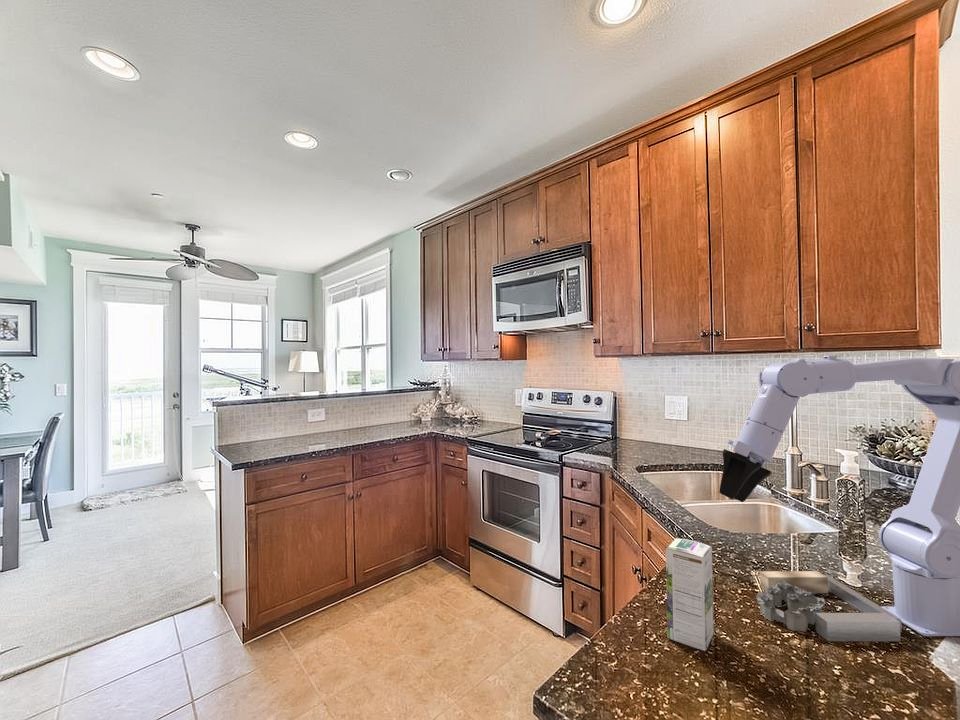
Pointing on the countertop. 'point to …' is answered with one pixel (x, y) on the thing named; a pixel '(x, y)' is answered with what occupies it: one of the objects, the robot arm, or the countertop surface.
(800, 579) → the block
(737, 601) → the countertop surface
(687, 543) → the syrup box
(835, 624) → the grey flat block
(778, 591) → the egg carton
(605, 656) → the countertop surface
